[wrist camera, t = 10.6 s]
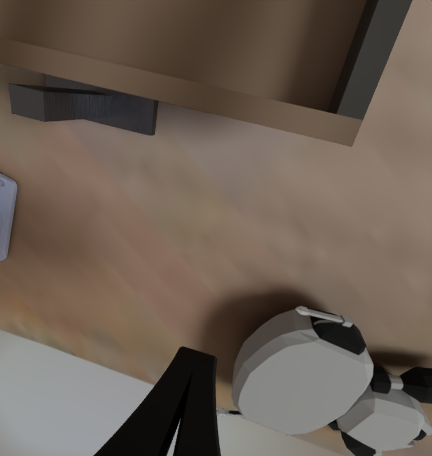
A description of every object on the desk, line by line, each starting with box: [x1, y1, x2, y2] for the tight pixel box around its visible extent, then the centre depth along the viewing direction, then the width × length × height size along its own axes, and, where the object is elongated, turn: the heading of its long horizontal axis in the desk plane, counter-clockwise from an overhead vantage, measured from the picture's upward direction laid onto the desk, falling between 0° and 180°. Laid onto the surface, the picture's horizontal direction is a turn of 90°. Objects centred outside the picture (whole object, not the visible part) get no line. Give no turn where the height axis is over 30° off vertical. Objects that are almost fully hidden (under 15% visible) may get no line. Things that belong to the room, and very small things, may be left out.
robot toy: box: [216, 306, 432, 456], centre depth 21 cm, size 12×4×15 cm
